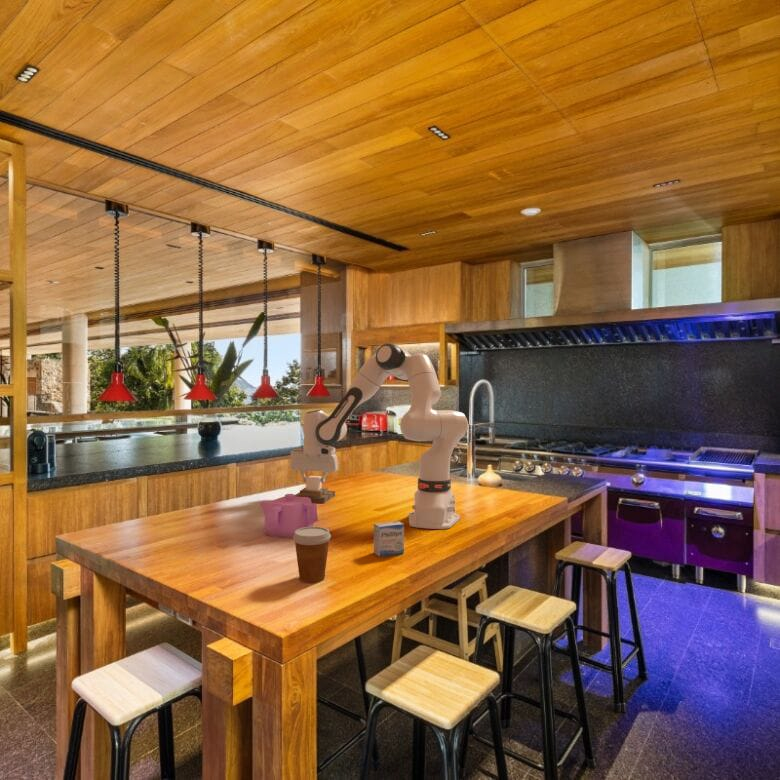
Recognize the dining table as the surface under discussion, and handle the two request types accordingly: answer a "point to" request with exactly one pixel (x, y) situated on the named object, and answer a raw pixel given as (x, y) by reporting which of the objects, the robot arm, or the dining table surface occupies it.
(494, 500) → the dining table surface
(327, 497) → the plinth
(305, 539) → the disposable coffee cup
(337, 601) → the dining table surface
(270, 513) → the teakettle
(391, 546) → the medicine box
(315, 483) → the cream block
